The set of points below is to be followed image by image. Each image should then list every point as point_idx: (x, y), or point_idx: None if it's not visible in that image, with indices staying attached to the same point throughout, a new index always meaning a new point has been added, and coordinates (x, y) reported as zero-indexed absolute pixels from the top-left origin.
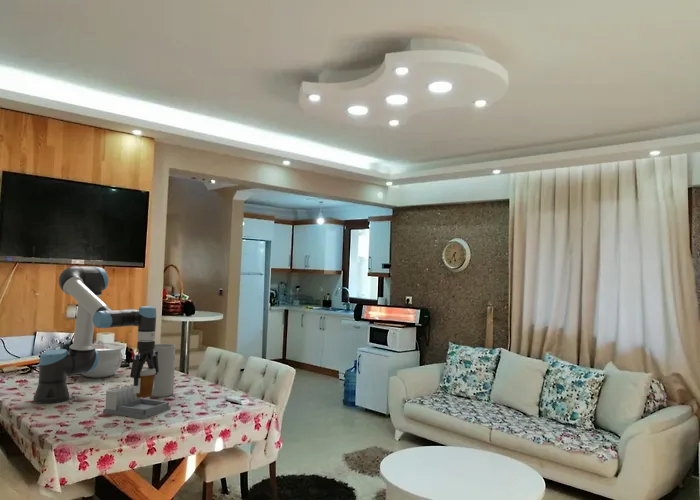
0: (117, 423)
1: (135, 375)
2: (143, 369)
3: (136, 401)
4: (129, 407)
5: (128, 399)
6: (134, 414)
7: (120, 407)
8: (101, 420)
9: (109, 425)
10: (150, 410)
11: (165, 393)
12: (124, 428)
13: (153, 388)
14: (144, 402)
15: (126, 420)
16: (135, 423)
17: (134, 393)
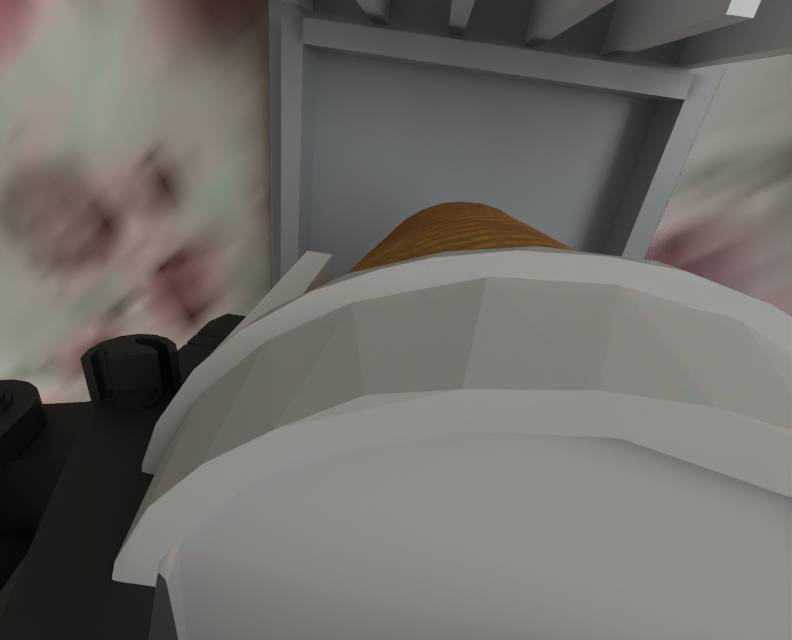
0: (109, 240)
1: (5, 543)
2: (596, 614)
3: (584, 85)
4: (286, 207)
5: None
6: (272, 274)
7: (284, 82)
8: (80, 55)
9: (43, 218)
10: None
11: None
12: (69, 342)
13: None
14: (647, 145)
15: (196, 255)
16: (179, 346)
17: (669, 3)
